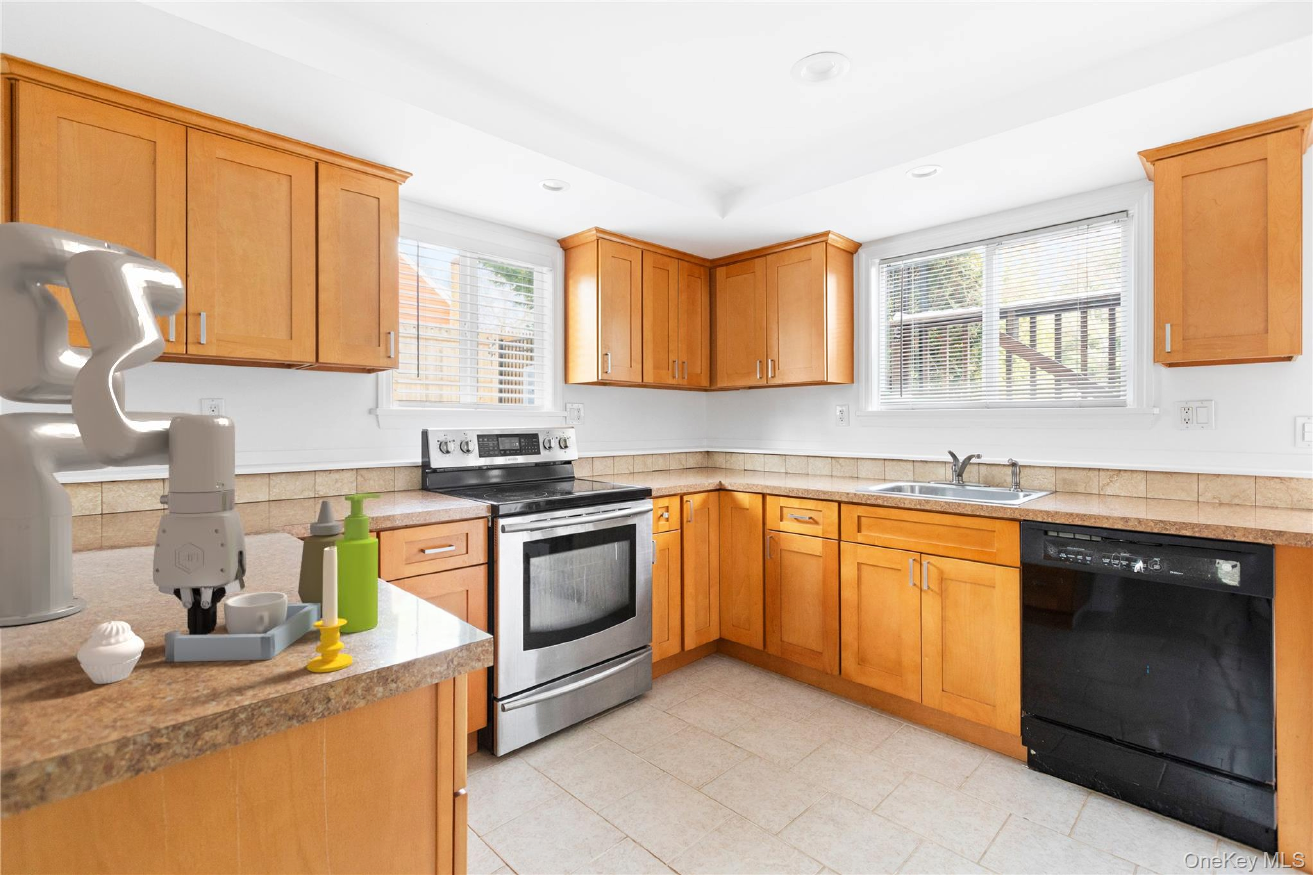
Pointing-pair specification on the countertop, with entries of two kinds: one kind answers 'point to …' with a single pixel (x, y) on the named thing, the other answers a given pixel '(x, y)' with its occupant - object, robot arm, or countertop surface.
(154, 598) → the countertop surface
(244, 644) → the bay
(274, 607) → the teacup
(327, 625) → the candle
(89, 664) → the muffin
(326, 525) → the squeeze bottle
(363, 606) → the soap dispenser
